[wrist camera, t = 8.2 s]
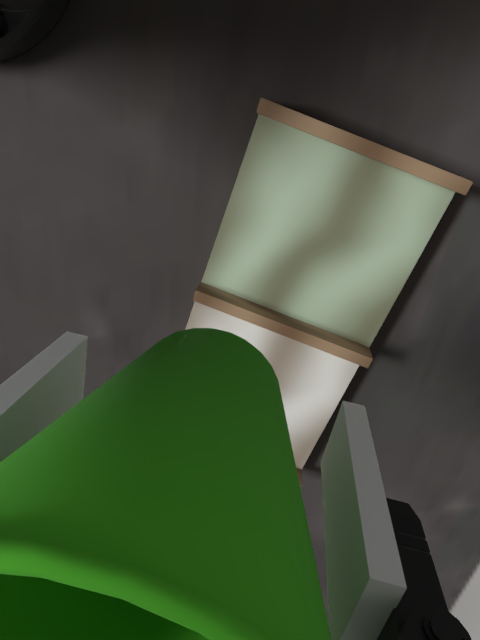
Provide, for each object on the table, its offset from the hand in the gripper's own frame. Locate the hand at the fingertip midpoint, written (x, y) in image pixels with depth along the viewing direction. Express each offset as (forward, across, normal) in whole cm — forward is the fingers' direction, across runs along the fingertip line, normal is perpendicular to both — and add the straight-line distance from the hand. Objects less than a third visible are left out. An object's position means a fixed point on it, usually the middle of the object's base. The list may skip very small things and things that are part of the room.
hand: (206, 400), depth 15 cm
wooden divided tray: (+18, +3, -3) cm, 18 cm away
